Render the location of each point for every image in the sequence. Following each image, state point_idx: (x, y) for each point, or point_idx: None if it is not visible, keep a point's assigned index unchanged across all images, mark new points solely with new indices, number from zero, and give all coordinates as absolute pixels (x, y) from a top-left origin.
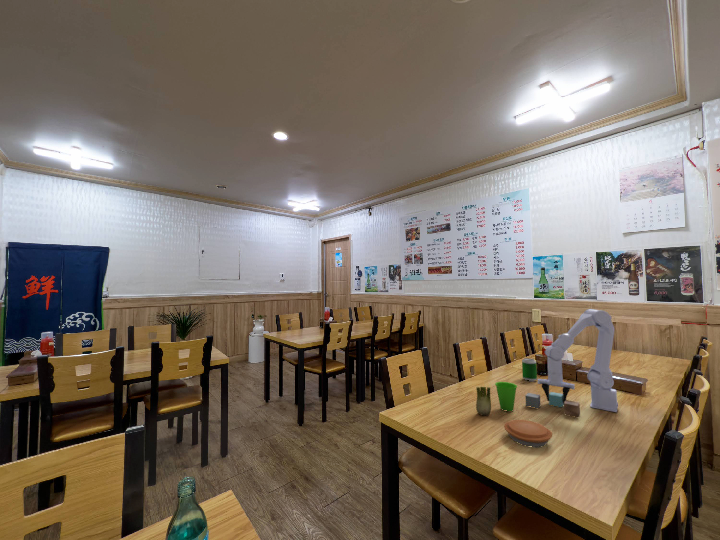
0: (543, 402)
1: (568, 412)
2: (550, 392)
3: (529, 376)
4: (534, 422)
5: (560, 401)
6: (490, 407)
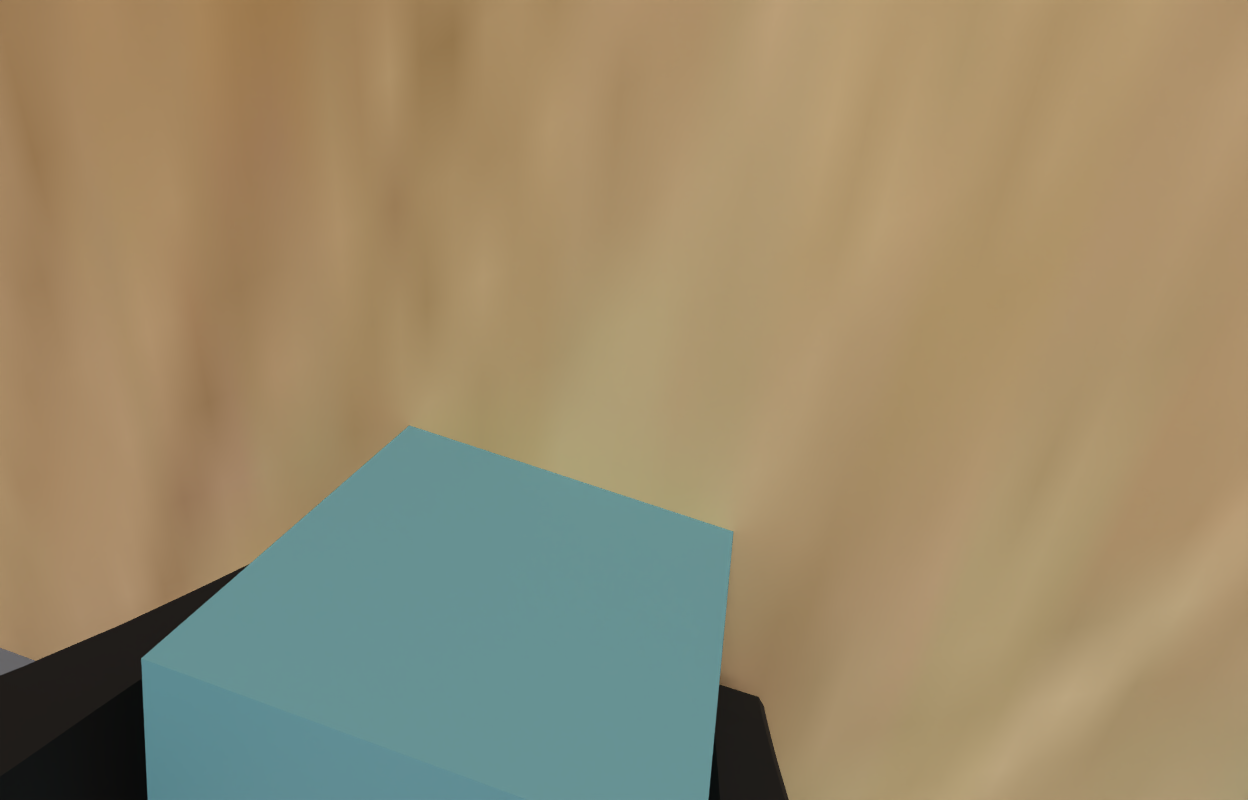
0: (231, 501)
1: None
2: (147, 743)
3: None
4: None
5: None
6: None
